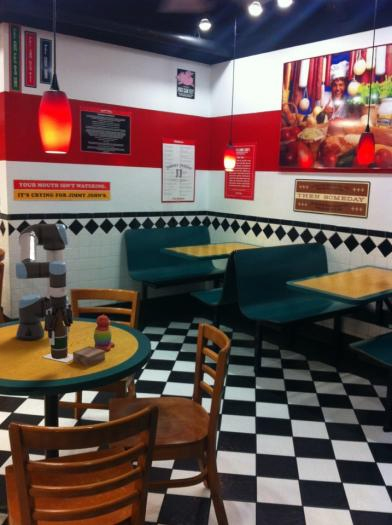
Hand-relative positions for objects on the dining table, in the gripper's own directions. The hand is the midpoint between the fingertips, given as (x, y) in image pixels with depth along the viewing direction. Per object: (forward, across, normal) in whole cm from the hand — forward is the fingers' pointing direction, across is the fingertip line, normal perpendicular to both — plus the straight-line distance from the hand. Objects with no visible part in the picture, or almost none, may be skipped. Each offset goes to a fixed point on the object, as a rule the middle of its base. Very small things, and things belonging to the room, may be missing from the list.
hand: (59, 341), depth 238 cm
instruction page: (+15, +12, +12) cm, 22 cm away
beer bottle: (+7, 0, 0) cm, 7 cm away
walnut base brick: (+15, +17, -2) cm, 23 cm away
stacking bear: (+15, +34, +5) cm, 38 cm away
